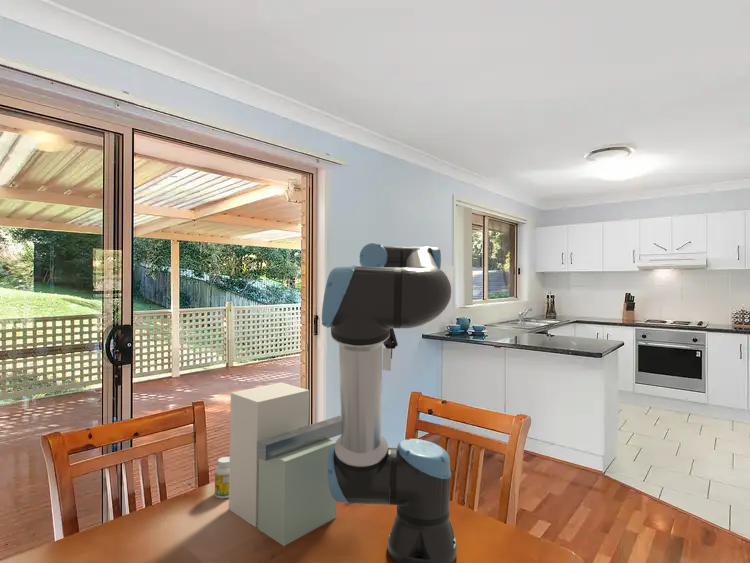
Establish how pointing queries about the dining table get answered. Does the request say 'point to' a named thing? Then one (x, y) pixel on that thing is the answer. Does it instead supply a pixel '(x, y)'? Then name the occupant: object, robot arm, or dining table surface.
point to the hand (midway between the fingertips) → (370, 370)
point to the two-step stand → (277, 465)
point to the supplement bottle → (222, 478)
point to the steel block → (298, 438)
